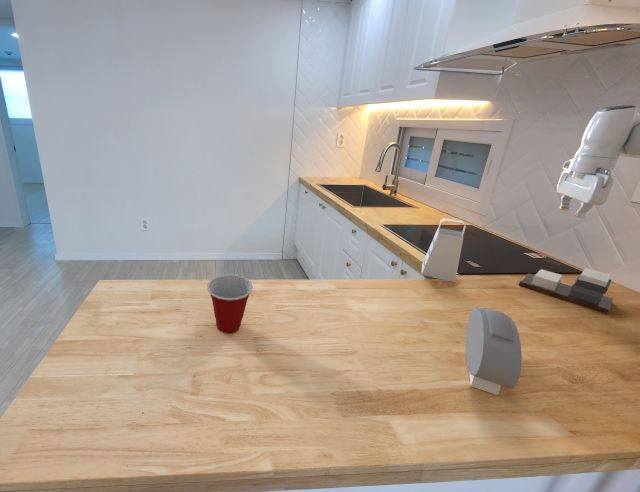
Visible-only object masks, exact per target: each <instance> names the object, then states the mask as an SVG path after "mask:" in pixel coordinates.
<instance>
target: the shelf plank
mask: <svg viewBox="0 0 640 492" xmlns="http://www.w3.org/2000/svg"><path fill="white" fill-rule="evenodd" d="M535 275H536V274H532V273H527V274H526V275H525V276H524V277H523V278H522V279H521V280H520V281H519V282H518V286H519V287H523V288H525V289H528V290H531V291H535V292H538V293H541V294H544V295H547V296H550V297H553V298H555V299H560V300H562V301H565V302H569V303H572V304H575V305H578V306H581V307H584V308H587V309H591V310H593V311H597V312H598V313H599V312H600V313H603V314H608V313H609V312H610V309H611V306H612V303H613V300H614V298H612V297H609V296H607V295H603V297H602V299H601V301H600V303H599V305H596V304H593V303H590V302H587V301H584V300H581V299H577V298H574V297H571V296H568V295H569V293H570V291H571V290H570V289H571V287H572V285H570V284H565V283H563V282H560V284H559V285H558V287H557V288H556V289H555V291H553V290H549V289H546V288H543V287H540V286H537V285H534V284H532V282H533V278H534V276H535Z"/></svg>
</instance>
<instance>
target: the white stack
mask: <svg viewBox="0 0 640 492" xmlns="http://www.w3.org/2000/svg"><path fill="white" fill-rule="evenodd" d="M534 275H535V276H534V278H533V282H532V284H534V285H537V286H540V287H543V288H546V289H549V290H553V291H555V289H556V288H557V287H558V285H559V284H560V283H562V278H563V276H564V275H563V274H559V273H557V272H556V273H555V272H552V271H549V270H547V269H542V268H541V269H539V270H538V272H536V274H534Z"/></svg>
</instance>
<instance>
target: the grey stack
mask: <svg viewBox="0 0 640 492" xmlns="http://www.w3.org/2000/svg"><path fill="white" fill-rule="evenodd" d="M581 274H582V272H581V273H580V274H579V276H576V279H575V280H574V282H573V283H572V285H571V286H572V287H571V289H570V290H571V291H570V293H569V295H568V296H571V297H574V298H577V299H581V300H584V301H587V302H590V303H593V304H596V305H599V303H600V301H601V299H602V297H603V296H604V295H606V293H607V292H608V290H609V288H610V285H611V284H612V279H610V278H609V280H608V283H607V285H606V287H604V286H600V285H597V284H593V283H590V282H586V281H582V280H579V278H580V275H581Z"/></svg>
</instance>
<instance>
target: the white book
mask: <svg viewBox="0 0 640 492" xmlns="http://www.w3.org/2000/svg"><path fill="white" fill-rule="evenodd" d="M581 273H582V274H581ZM581 273H580V274H581V275H580V274H579V276H580V278H579V280H582V281H586V282H590V283H593V284H597V285H600V286H604V287H606V285H607V283H608V280H609V279H610V278H611V274H610V273H607V272H602V271H599V270H595V269H590V268H587V267H585V268H584V269H583V270H582V271H581Z"/></svg>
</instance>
